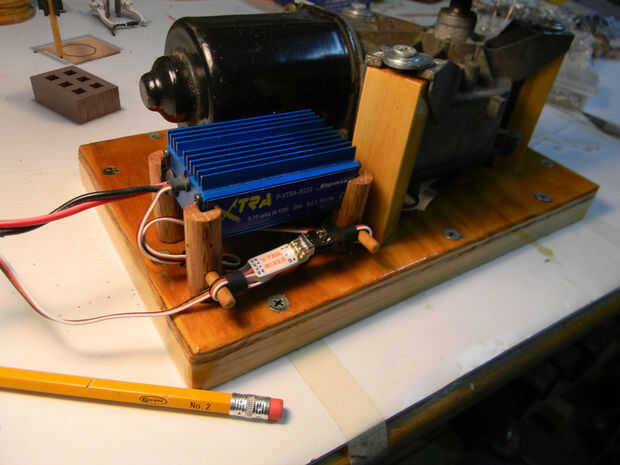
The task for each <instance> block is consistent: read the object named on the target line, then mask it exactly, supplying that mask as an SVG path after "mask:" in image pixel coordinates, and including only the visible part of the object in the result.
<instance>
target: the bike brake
mask: <svg viewBox="0 0 620 465" xmlns="http://www.w3.org/2000/svg"><path fill="white" fill-rule="evenodd" d="M132 5H134V2H133V0H114V12H115V14H116V15H117V16H118V17H119V18H121V17H122V10H125V11H126V12H127V13H129V14H130V15H133V16H134V17H136V18H138V20H139V21H138V20H136V21H134V20H132V21H127V22H126V21H115V22H112V21H111V20H109V19H110V17H111V6H110V0H102V1H100V0H89V1H88V6H89V8H90V10H91V11H95V12H96V13H97V14H98V16H99V18H100V19H101V21H102V22H103V23H104V24H105V25H106V26H108V27H109V28H111V30H110V32H111V34H112V36H114V37H115V36H116V33H115V31H114V30H115V29H119V28H126V27H135V26H138V25H140V24H141V26H143V27H145V26H147V23H150V20H147V19H146V18H145V17H144V16H143V15H142V14H141V12H139V11H138V10H136V9H135V8H134V7H132Z"/></svg>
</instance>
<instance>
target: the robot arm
mask: <svg viewBox="0 0 620 465" xmlns="http://www.w3.org/2000/svg"><path fill="white" fill-rule="evenodd" d="M36 2H37V7H38V10H39V11H43V16H44V17H49V12H48V7H47V2H46V0H36ZM63 4H64V3H63V0H53V5H54V10H55V15H56V16H57V18H58V17H59V18H61V11H64V5H63Z"/></svg>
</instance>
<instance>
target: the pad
mask: <svg viewBox="0 0 620 465" xmlns="http://www.w3.org/2000/svg"><path fill="white" fill-rule="evenodd" d="M62 46H63V52H64V56H63V58H62V60H64V61H65V62H68V63H69V64H72V65H74V66H77V65H81V64H84V63H87V62H92V61H95V60H96V61H97V60H99V59H102V58H106V57H110V56H114V55H118V54H121V50H120V49H117V48H116V47H113V46H111V45H109V44H106V43H104V42H102V41H99V40H97V39H95V38H92V37H90V36H88V37H84V38H79V39H76V40H71V41H67V42H62ZM43 52H47V53H48V54H51V55H53V56H55V57H56V58H59V56H57V52H56V47H55V44H54V45H49V46H44V47H40V48H36V49H33V53H35V54H37V53H43Z"/></svg>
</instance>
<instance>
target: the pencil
mask: <svg viewBox="0 0 620 465" xmlns="http://www.w3.org/2000/svg"><path fill="white" fill-rule="evenodd" d="M46 2H47V7H48V12H49V16H48V18H49V22H50V27H51V28H50V29H51V33H52V37H53V41H54V42H53V43H54V45H55V47H56V52H57V56H59V57H58V58H59V59H62V58H63V56H64V52H63V46H62V43H63V42H62V37H61V32H60V26H59V21H58V17H57V16H56V15H55V10H54V5H53V0H46ZM57 56H56V57H57ZM62 60H63V59H62Z"/></svg>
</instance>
